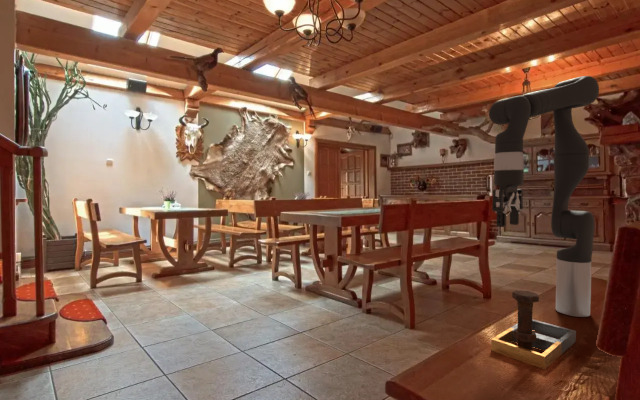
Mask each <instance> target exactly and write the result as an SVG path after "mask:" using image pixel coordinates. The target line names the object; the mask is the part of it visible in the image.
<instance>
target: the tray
mask: <svg viewBox="0 0 640 400" xmlns="http://www.w3.org/2000/svg"><path fill="white" fill-rule="evenodd" d="M516 328H518V322H517V323H515V324H514V325H513V326H511V327H509V328H508V329H506V330H504V331H502V332H501V333H499V334H497V335H495V337H493V338H491V339H490V341H491V345H490V346H491V347H490V350H491V351H492V352H493V353H497V354H500V355H502V356H505V357H507V358H510V359H513V360H516V361H519V362H522V363H525V364H527V365H530V366H534V367H535V368H539V369H542V370H546V369H547V368H548V367H550V365H552V364H553V363H554V362H555V361H556V360H557V359H558V358H559V357H561V355H563V354H564V353H565V352H566V351H567V350H568V349H570V348H571V347H572V346H573V345H574V344H575V343H576V339H577V337H576V336H577V331H576V329H575V330H574V329H570V328H566V327H562V326H558V325H555V324H552V323H548V322H544V321H540V320H537V319H533V318H532V330H535V331H537V332H535V334H536V340H535V341H534V342H532V347H535V348H538V349H541V350H544V352H543V351H542V353H540V352H537V351H534V350H533V349H532V350H529V349H526V348H522V347H519V346H518V345H516V344H513V343H515V342H518V340H517V339H516V338H515V336H514V330H515V329H516ZM538 332H539V333H538ZM541 333H542V334H541ZM512 341H514V342H513V343H511V342H512Z"/></svg>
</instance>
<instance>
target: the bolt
mask: <svg viewBox="0 0 640 400" xmlns="http://www.w3.org/2000/svg"><path fill="white" fill-rule="evenodd" d="M511 295H512V298H513V299H514V300H515V301H517V302H516V303H517V304H516V305H517V323H518V328H516V329H515V330H514V336H515V338H516V339H517V340H518V342H517V343H516V344H517V346H519V347H522V348H526V349H529V350H532V351H533V348H532V342H534V341H535V340H536V334H535V333H536V332H534V331H532V319H533V312H534V311H533V309H534V303H539V302H540V297H539V295H538V294H537V293H536V292H533V291H529V290H520V289H519V290H518V289H517V290H514V291H512V292H511Z"/></svg>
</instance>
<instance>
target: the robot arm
mask: <svg viewBox="0 0 640 400" xmlns="http://www.w3.org/2000/svg"><path fill="white" fill-rule="evenodd" d="M599 91H600V87H599V83H598V81H597V79H596V78H594V77H593V76H591V75H583V76H577V77H574V78H570V79H567V80H563V81H560V82H558V83H556V84H555V85H554V87H552V88H547V89H541V90H536V91H532V92H528V93H525V94H522V95H516V96H511V97H509V98H504V99H501V100H497V101H495V102H493V104H492V105H491V106H490V108H489V111H488V117H489V119H490V121H491V122H492V123H493V124H495V125H497V126H502V125H507V127H506V129H505V130H503V131H502V132H499V133H498V134H497V135H496V136H495V139H494V140H495V141H494V144H495V145H494V159H493V185H494V186H497V187H498V189H493V190H492V207H491V208H492V209H491V211H492V212H494V213H495V214H496V227H499V228H505V227H506V226H507V225H506V224H507V214H506V213H507V210H508V208H509V225H514V226H515V225H516V226H518V225H519V223H520V221H519V219H520V215H519V214H520V212H521V210H523V208H524V199H523V197H524V193H523V192H524V190H523V189H522V188H518V186H519V187H520V186H523V185H524V184H525V183H524V181H525V180H524V176H525V174H524V173H525V171H524V169H525V168H524V167H525V164H524V163H525V159H524V158H525V157H524V138H525V134H526V131H527V127H528V123H529V121H530V118H534V117H537V116H541V115H544V114H548V113H551V112H552V113H553V124H554V126H553V127H554V154H553V169H554V170H553V171H554V173H553V175H554V177H553V179H554V180H553V181H554V182H553V184H554V185H553V186H554V187H553V188H554V189H553V201H552V209H551V217H550V218H551V221H550V222H551V223H550V227H551V232H552V234H553V236H554V237H556V238H559V239H560V238H562V239H569V240H570V239H571V240H576V241H575V244H574V245H572V246H570V247H564V248H559V249H557V250H556V265H555V266H556V273H555V277H556V278H555V280H556V281H555V310H556V311H557V312H558V313H560V314H563V315H567V316H571V317H579V318H587V317H590V316H591V300H592V257H593V250H594V249H593V248H594V234H595V226H596V225H595V216H594V214H593V213H592V212H590V211H587V210H570V209H569V202H570V198H571V196H572V194H573V193H574V191H575V189H576V188H577V187H578V186H579V185H580V183H581V182H582V181H583V179H585V177H586V176H587V173H588V171H589V168H590V148H589V146H588V143H587V142H586V140H585V139H584V138H583V136H582V135H581V134H580V133H579V131H578V130H577V129H576V127H575V124H574V122H573V117H572V109H577V108H582V107H587V106H589V105H592V104H593V103H594V102H595V101H596V100H597V98H598V97H599V93H600V92H599Z"/></svg>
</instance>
